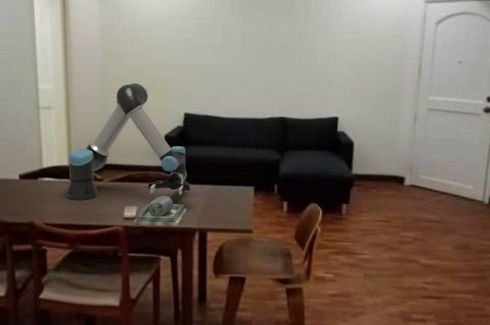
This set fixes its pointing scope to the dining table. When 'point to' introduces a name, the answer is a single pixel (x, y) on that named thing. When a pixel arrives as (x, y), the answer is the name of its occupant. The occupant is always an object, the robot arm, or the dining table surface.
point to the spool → (160, 206)
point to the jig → (165, 220)
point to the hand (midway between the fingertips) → (165, 191)
